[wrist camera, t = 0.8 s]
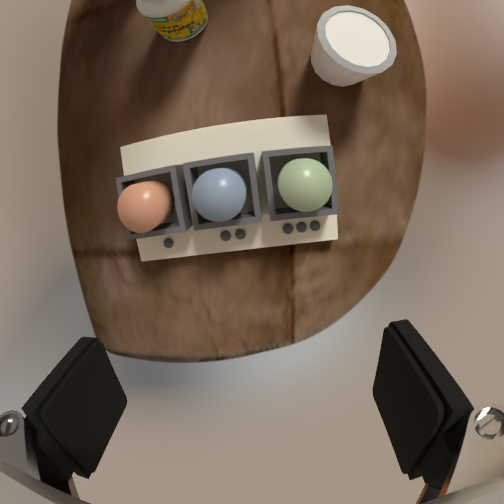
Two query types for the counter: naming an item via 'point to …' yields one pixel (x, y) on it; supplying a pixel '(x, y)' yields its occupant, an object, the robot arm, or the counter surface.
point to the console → (253, 171)
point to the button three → (304, 184)
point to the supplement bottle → (175, 17)
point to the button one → (145, 205)
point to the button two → (219, 194)
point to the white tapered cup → (351, 46)
